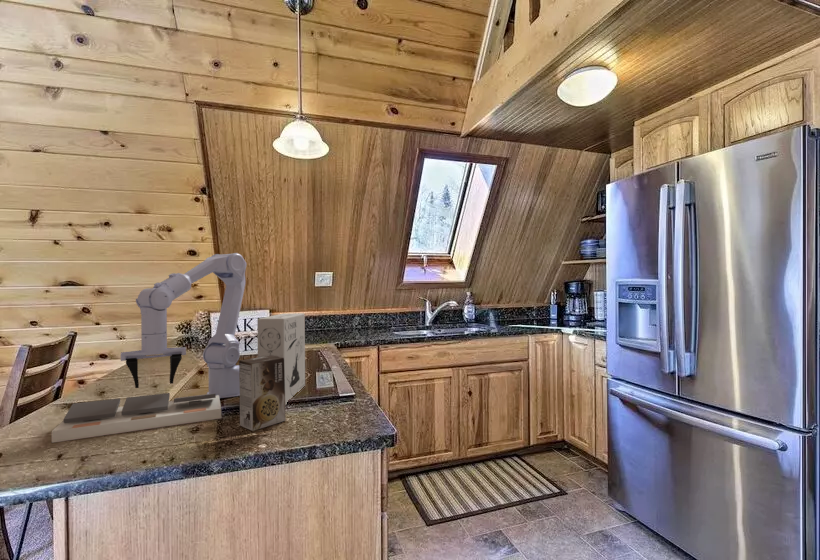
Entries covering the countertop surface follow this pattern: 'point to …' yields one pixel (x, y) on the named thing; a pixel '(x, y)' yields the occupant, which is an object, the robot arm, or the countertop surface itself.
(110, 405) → the rocker outer
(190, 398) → the rocker inner
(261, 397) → the cookie box
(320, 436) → the countertop surface
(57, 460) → the countertop surface
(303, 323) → the cereal box
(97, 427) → the switch panel
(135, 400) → the rocker mid
